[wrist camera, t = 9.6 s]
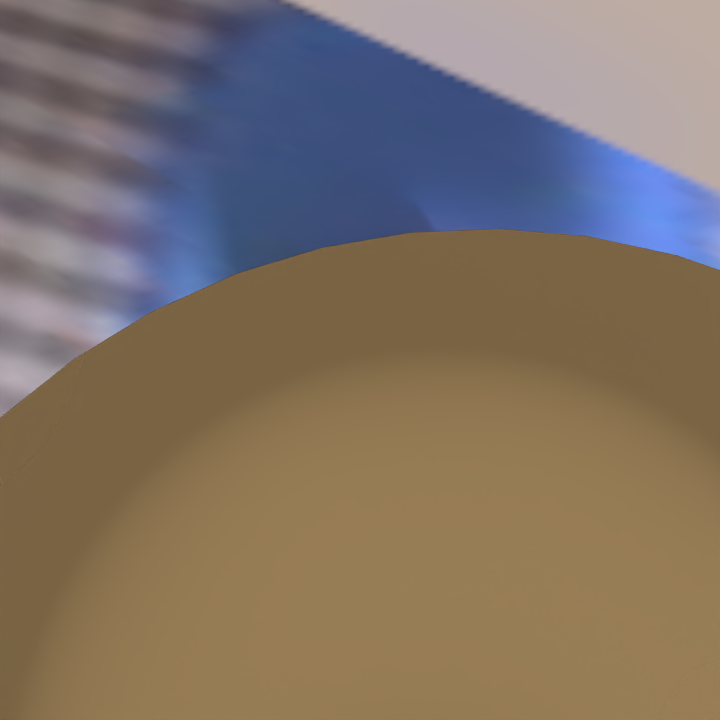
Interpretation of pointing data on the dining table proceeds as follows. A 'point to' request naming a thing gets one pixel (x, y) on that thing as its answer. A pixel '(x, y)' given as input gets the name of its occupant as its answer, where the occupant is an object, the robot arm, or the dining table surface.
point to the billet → (378, 494)
